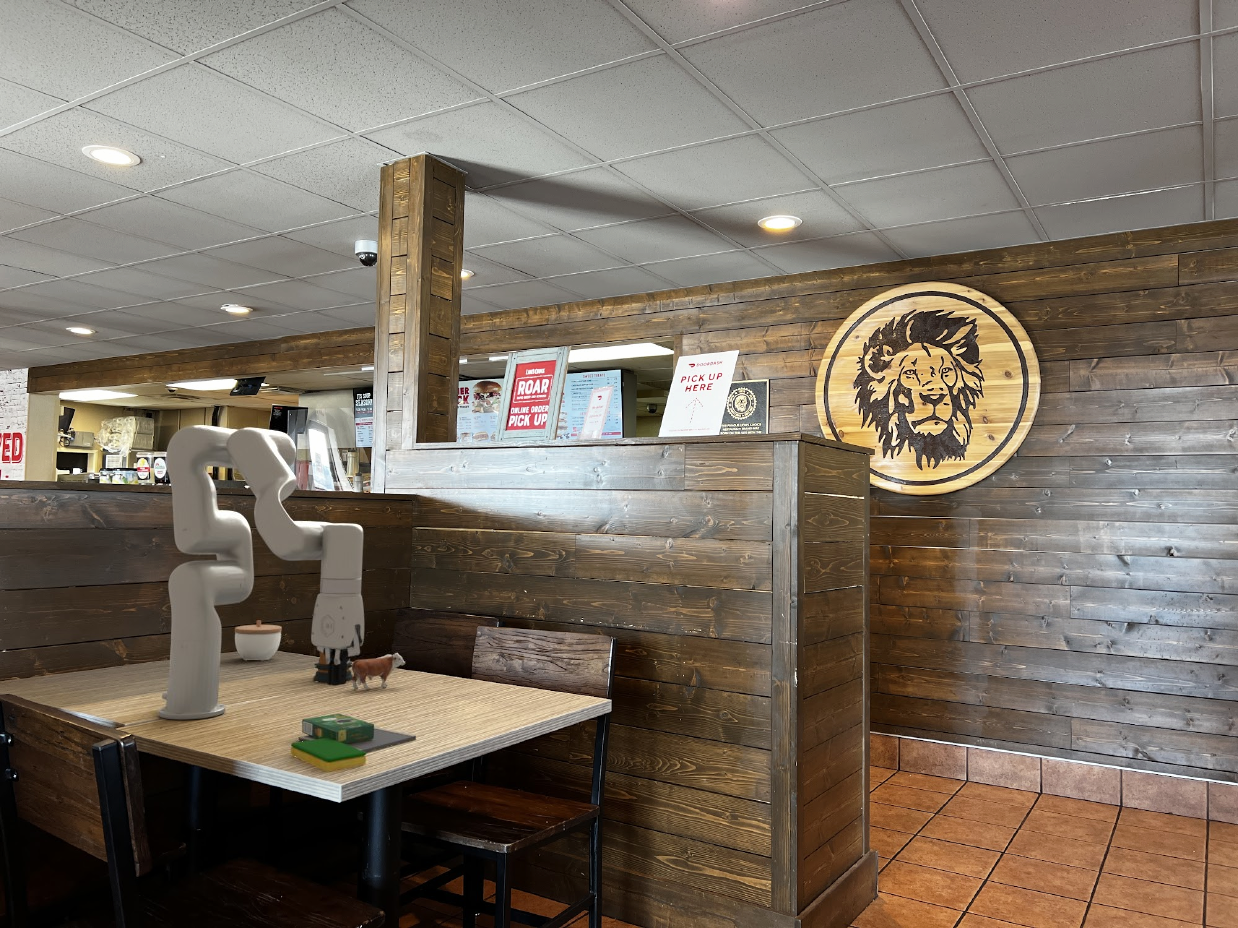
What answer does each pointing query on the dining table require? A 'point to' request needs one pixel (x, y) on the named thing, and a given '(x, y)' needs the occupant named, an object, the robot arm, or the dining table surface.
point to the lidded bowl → (257, 641)
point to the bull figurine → (375, 669)
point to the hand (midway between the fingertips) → (336, 684)
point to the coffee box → (338, 728)
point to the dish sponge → (328, 754)
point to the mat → (375, 739)
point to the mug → (323, 670)
